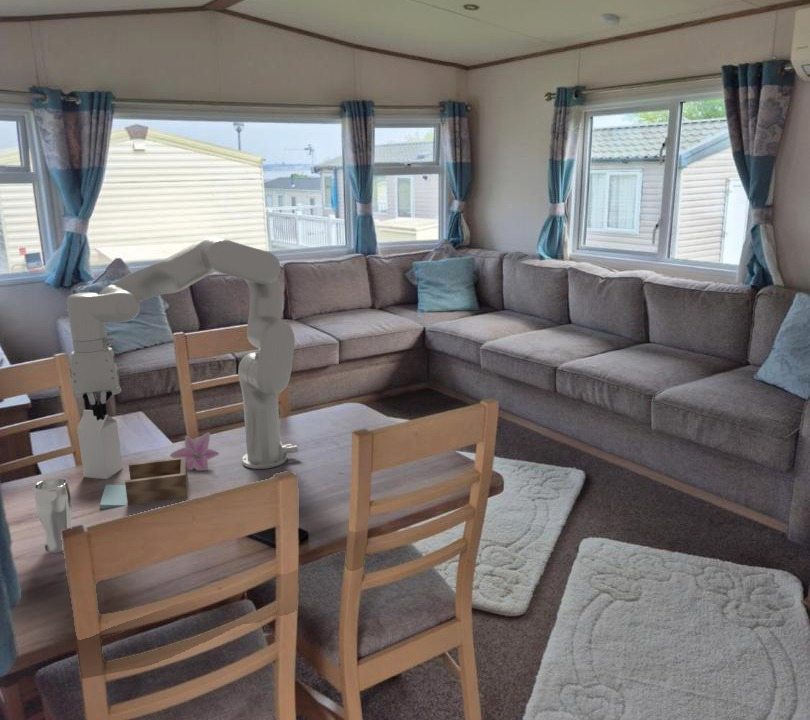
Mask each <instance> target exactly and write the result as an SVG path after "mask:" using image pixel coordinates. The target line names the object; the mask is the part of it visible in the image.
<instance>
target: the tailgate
mask: <svg viewBox="0 0 810 720" xmlns="http://www.w3.org/2000/svg"><path fill="white" fill-rule="evenodd" d="M123 506H125V507H126V506H128V502H127V494H126V486H125V484H107V483H106V484H105V485H104V490H103V493H102V495H101V501H100V504H99V510H102V509H110V508H117V507H123Z"/></svg>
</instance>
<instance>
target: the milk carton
mask: <svg viewBox="0 0 810 720" xmlns="http://www.w3.org/2000/svg"><path fill="white" fill-rule="evenodd" d="M82 412H83V414H82V416H81V419H80V421H79V422H78V426H77V427H76V430H77V431H76V432H77V437H78V443H79V444H78V445H79V451H80V457H81V465H82V472H83V477H84V478H91V479H103V480H107V479H110V478H111V477H112V476H114V475H116V474H117V473H118V472H120V471H121V470H123V468H124V467H123V460H122V452H121V445H120V437H119V436H120V435H119V429H118V421H117V420H116V419H114V418H113V417H112V416H110V415H109V414H108V412H107V415H105V418H104V420H102V419H101V418H100V420H97V418H96V416H94V415H93V409H92V410H91V409H83V411H82Z"/></svg>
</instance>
